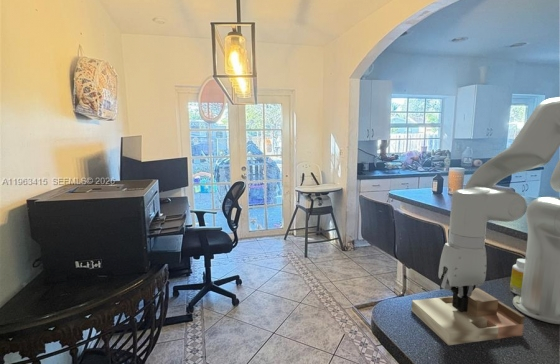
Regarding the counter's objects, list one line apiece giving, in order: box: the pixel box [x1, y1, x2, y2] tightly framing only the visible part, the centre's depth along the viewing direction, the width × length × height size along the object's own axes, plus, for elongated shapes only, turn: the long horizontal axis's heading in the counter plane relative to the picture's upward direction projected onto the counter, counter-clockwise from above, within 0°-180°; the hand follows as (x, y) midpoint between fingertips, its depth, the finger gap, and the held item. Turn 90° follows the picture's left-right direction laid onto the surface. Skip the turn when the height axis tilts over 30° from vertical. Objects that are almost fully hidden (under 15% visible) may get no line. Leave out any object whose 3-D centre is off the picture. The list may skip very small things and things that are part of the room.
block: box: [467, 287, 499, 317], centre depth 76 cm, size 6×6×4 cm
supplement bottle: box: [509, 258, 525, 296], centre depth 90 cm, size 6×6×10 cm
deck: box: [411, 295, 525, 346], centre depth 76 cm, size 20×14×5 cm
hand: (459, 308), depth 75 cm, fingers closed
